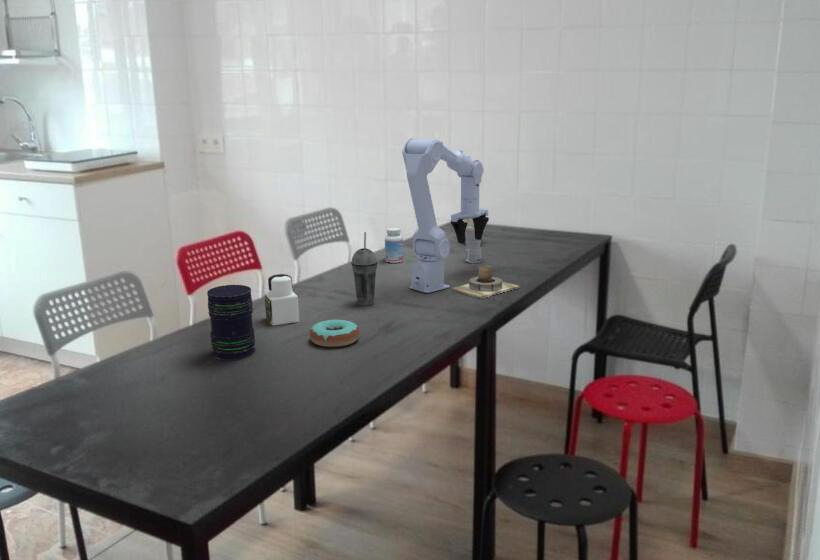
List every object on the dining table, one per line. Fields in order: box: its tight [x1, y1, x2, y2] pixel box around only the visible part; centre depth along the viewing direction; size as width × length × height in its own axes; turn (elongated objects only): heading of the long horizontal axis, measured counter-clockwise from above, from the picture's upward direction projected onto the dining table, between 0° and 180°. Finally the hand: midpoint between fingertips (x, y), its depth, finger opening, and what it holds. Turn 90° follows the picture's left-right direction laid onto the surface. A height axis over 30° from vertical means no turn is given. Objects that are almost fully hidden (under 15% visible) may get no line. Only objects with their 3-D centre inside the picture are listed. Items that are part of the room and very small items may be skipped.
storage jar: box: [206, 284, 256, 361], centre depth 173 cm, size 10×10×15 cm
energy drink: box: [465, 225, 483, 264], centre depth 255 cm, size 5×5×12 cm
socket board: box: [451, 276, 520, 300], centre depth 223 cm, size 16×12×3 cm
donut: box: [309, 319, 360, 348], centre depth 182 cm, size 12×12×4 cm
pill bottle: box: [384, 227, 404, 264], centre depth 257 cm, size 6×6×11 cm
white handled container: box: [264, 273, 300, 327], centre depth 196 cm, size 7×7×12 cm
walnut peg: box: [478, 264, 493, 283], centre depth 222 cm, size 4×4×6 cm
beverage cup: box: [350, 231, 378, 307], centre depth 209 cm, size 7×7×20 cm
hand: (469, 241), depth 239 cm, fingers open, 7 cm apart
